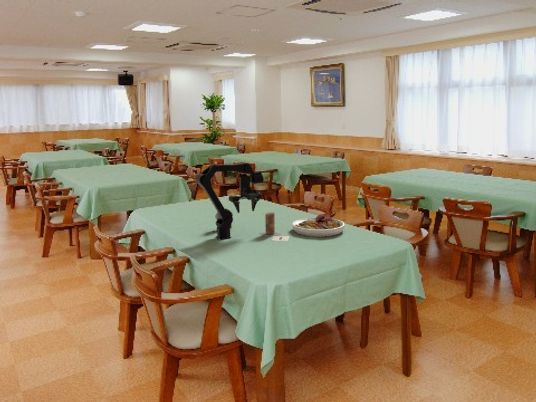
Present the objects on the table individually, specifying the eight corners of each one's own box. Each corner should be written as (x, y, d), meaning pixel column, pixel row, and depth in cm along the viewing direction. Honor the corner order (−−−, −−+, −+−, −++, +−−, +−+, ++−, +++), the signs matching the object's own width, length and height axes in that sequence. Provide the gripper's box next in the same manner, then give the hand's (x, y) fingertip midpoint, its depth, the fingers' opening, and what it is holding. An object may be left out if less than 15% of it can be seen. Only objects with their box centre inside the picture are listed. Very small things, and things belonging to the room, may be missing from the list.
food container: (225, 226, 299) (225, 210, 297) (233, 228, 295) (232, 211, 293) (211, 230, 290) (210, 214, 288) (218, 232, 286) (218, 215, 284)
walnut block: (265, 235, 276) (265, 214, 274) (266, 232, 281) (266, 212, 278) (273, 235, 276) (273, 214, 273) (274, 233, 280) (274, 212, 278)
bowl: (342, 239, 267) (343, 225, 266) (288, 237, 273) (288, 223, 271) (345, 226, 296) (345, 213, 294) (296, 224, 302) (296, 212, 300)
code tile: (271, 240, 265) (271, 240, 265) (273, 236, 274) (273, 236, 274) (288, 241, 264) (288, 240, 264) (289, 236, 273) (289, 236, 273)
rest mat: (267, 237, 272) (267, 236, 272) (259, 234, 280) (259, 233, 280) (281, 235, 277) (281, 234, 277) (272, 231, 284) (272, 231, 284)
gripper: (237, 188, 263) (237, 216, 266) (266, 185, 272) (267, 212, 275) (227, 185, 272) (228, 213, 275) (256, 182, 281) (257, 209, 284)
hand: (245, 212), depth 277 cm, fingers open, 9 cm apart
